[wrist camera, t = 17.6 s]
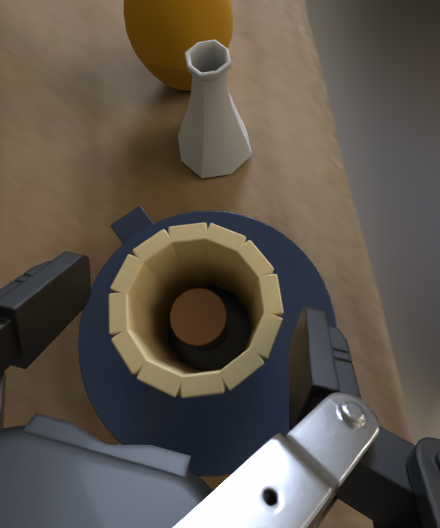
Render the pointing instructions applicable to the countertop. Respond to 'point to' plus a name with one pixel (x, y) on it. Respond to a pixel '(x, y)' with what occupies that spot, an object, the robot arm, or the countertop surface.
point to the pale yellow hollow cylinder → (179, 281)
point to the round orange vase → (175, 33)
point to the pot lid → (202, 356)
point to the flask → (211, 115)
